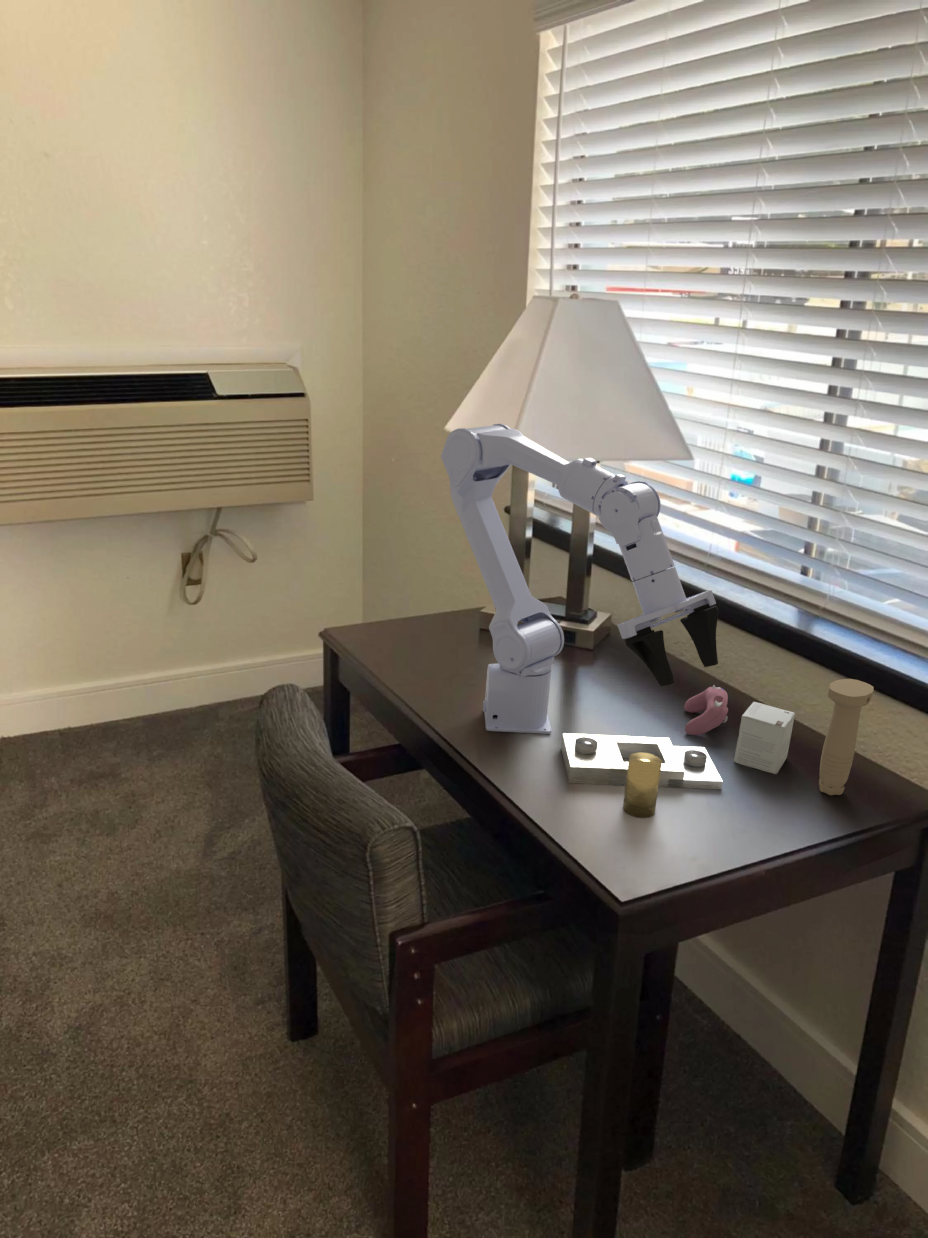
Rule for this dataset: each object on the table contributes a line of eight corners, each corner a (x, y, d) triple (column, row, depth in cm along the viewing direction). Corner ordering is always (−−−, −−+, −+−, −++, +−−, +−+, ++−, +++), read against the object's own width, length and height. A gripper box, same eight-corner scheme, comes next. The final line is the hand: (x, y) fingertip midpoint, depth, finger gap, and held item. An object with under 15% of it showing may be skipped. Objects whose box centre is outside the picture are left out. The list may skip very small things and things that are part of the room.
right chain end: (608, 784, 130) (610, 768, 130) (597, 750, 140) (599, 734, 139) (721, 789, 131) (724, 773, 130) (703, 754, 140) (705, 739, 139)
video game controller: (708, 749, 146) (736, 713, 143) (682, 732, 146) (710, 696, 143) (706, 721, 155) (733, 687, 152) (681, 705, 155) (707, 671, 152)
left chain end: (569, 783, 130) (571, 758, 129) (560, 748, 139) (563, 725, 138) (682, 787, 131) (686, 763, 130) (666, 753, 140) (670, 730, 139)
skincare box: (744, 747, 144) (752, 700, 141) (787, 758, 141) (796, 711, 138) (733, 763, 139) (741, 715, 136) (776, 775, 136) (785, 726, 133)
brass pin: (625, 817, 123) (632, 767, 120) (620, 801, 127) (626, 751, 124) (657, 818, 123) (664, 768, 121) (651, 802, 127) (658, 753, 124)
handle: (801, 790, 132) (821, 687, 127) (825, 776, 136) (846, 675, 131) (834, 805, 129) (857, 699, 124) (859, 791, 133) (881, 688, 128)
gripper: (627, 583, 120) (666, 690, 120) (715, 552, 126) (751, 653, 126) (596, 594, 126) (632, 695, 126) (680, 564, 133) (715, 660, 132)
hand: (689, 675), depth 126 cm, fingers open, 7 cm apart
